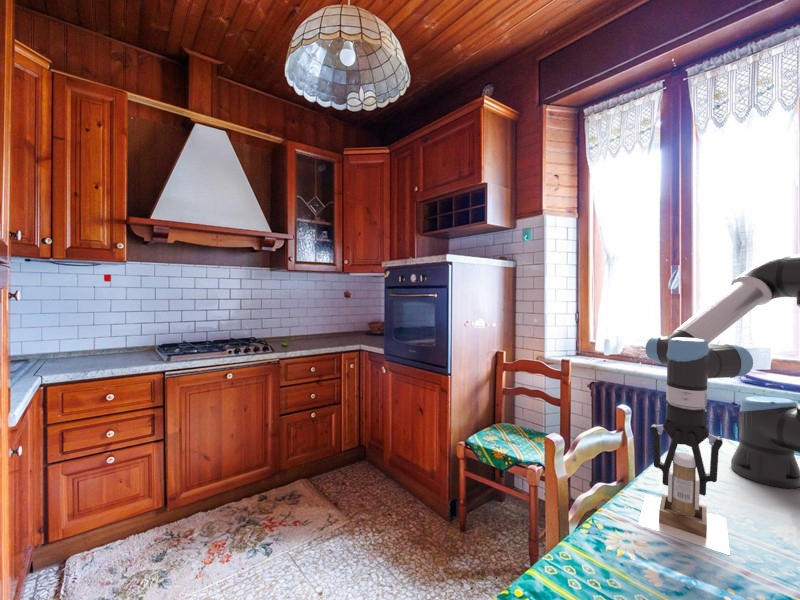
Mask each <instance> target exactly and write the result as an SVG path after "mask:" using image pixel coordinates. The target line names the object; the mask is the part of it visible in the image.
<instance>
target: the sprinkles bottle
mask: <svg viewBox="0 0 800 600" xmlns="http://www.w3.org/2000/svg"><path fill="white" fill-rule="evenodd" d="M672 471H673V480H672V506H671V507H672V509H673V510H674V511H675V512H676V513H678V514H680V515H683V516H688V517H691V516H694V515H695V480H696V477H697V476H696V472H697V467H696V463H695V459H694V455H692V454H690V453H687V452H682V451H675V454H674V457H673V460H672Z"/></svg>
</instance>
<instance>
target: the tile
mask: <svg viewBox="0 0 800 600" xmlns="http://www.w3.org/2000/svg"><path fill="white" fill-rule="evenodd" d="M661 498H662V497H661ZM661 498H660V497H657V496H653V495H650V494H645V497H644V500H643V505H642V508H641V513H640V515H639V519H638V524H637V525H638V526H641V527H645V528H648V529H650V530H653V531H657V532H660V533H663V534H665V535H668V536H672V537H674V538H677V539H679V540H682V541H686V542H689V543H691V544H695V545H698V546H700V547H704V548H706V549H709V550H712V551H715V552H718V553H721V554H724V555H727V556H731V553H730V544H729V532H728V525H727V517H725V516H722V515H719V514H715V513H711V512H708V511H707V536H706V538H704V537H701V536H698V535H695V534H692V533H689V532H686V531H683V530H680V529H677V528H674V527H671V526H668V525H665V524H661V523H659V509H660V503H661ZM666 511H669V512H672V513H676V512H675V511H673V510H669V509H666ZM676 514H678V513H676ZM679 515H680V514H679ZM682 516H683V515H682ZM685 517H688V516H685ZM689 518H692V519H695V520H698V521H702V519H699V518H696V517H692V516H691V517H689Z"/></svg>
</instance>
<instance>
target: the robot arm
mask: <svg viewBox="0 0 800 600" xmlns="http://www.w3.org/2000/svg"><path fill="white" fill-rule="evenodd" d="M777 298H796V306H797V307H799V308H800V253H799V254H785V255H784V254H783V255H779V256H776V257H773V258H770V259H767V260H765V261H762V262H759V263H758V264H756V265H754V266H753V267H751V268H749V269H747V270H745V271H743V272H742V273H741V274H740V275H738V276H737V277H736V278H734V279H733V280H732V281H731V284H730V287H729V288H728V289H726V290H725V291H724V292H723V293H722V294H721V293H720V294H719V295H718V296H717V297H716V298H715V299H713V300H712V301H711V302H709V303H708V304H707V305H706V306H704V307H703V308H701V310H699V311H698V312H697V313H695V314H694V315H693V316H691V317H690V318H689V319H687V320H686V321H685V322H684V323H682V324H681V325H680V326H678V327H677V328H676V329H675V330H673V331H672V332H671V333H669V334H668V335H666V336H664V335H659V336H657V335H655V336H653V337H651V338H649V340H647V342H646V344H645V354H646V356H647V358H648V359H649V360H650V361H652V362H653V363H656V364H661V365H663V366H666V398H665V399H666V401H667V403H666V404H665V420H664V421H663V423H662V424H656V423H652V424H651V426H650V431H651V433H652V436H653V467H654V468H656V469H659V470H660V471H662V482H661V483H662V484H663V486H667V487H668V488H667V496H668V501H669V502H672V480H673V469H672V470H671V469H670V468H671V466H672V464H673V461H672V460H673V457H674V454H675V452H677V451H676V450H677V448H678V445H685V446H687V447H691V451H692V454H693V456H694V459H695V463H696V472H697V475H698V476H696V479H695V509H697V510H699V505H700V496H703V497H705V496H706V495H707V483H709V482H712V483H717V481H718V469H719V468H718V467H719V466H718V465H719V451H720V449H721V447H722V445H723V438H722V437H721V436H716V435H714V434H712V433H711V432H709V429H708V428H707V412H708V411H707V409H706V407H707V406H708V379H723V378H724V379H726V378H730V379H731V378H735V377H741V376H745V375H746V376H747V374H749V373H750V372H751V371H752V369H753V367H754V358H753V355H752V354H751V353H750V351H749V350H748V349H746V348H744V347H743V346H741V345H736V344H734V345H733V344H713V343H711V342H713V341H714V340H715V339H716V338H717V337H719V336H720V335H721V334H723V333H724V332H725V331H726V330H728V329H729V328H731V326H733V325H734V324H735V323H737V322H738V321H740V319H741V318H743V317H744V316H745V315H747V314H748V313H749V312H750V311H752V310H753V309H755V307H757V306H763V305H766V304H768V303H769V302H770V301H771V300H774V299H777ZM740 403H741V404H740V408H739V412H740V413H739V444H738V446H737V447H736V449H735V451H734V453H733V455H732V458H731V460H730V468H731V469H732V471H733V472H735V473H736V474H737V475H739V476H741V477H743V478H746V479H748V480H751V481H753V482H756V483H759V484H762V485H766V486H771V487H774V488H776V487H777V488H784V489H800V466H799V464H798V462H797V459H796V457H795V452H796V453H800V403H798V404H797V401H795V400H792V399H790V398H785V397H784V398H783V397H774V396H760V395H759V396H747V397H744V398H742V399H741V402H740ZM663 431H665V432H666V434H667V435H668V437H669V438H670V439H671V441H670V443H669V447H668V450H667V453H666V457H665V461H664V462H662V461H661V460H662V459H661V452H662V450H661V435H663ZM706 439H708V443H709V445H710V460H709V461H710V462H709V463H710V464H709V466H710V467H709V473H706V469H705V466H704V461H703V458H702V454H701V449H700V444H701V443H703V441H705V440H706Z"/></svg>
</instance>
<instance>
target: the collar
mask: <svg viewBox="0 0 800 600" xmlns="http://www.w3.org/2000/svg"><path fill="white" fill-rule="evenodd" d="M671 506H672V502H669V501H668V494H664V493H662V495H661V503H660V509H659V523H661V524H665V525H668V526H671V527H674V528H677V529H680V530H683V531H686V532H689V533H692V534H695V535H698V536H701V537H704V538H706V536H707V512H708V511H707V509H708V508H707V506H705V505H701V504H699V510H697V509H695V515H694V516H692V517H696V518H699V519H702V521H698V520H695V519H692V518H689V517H685V516H682V515H679V514H676V513H672V512H669V511H666V509H669V510H673V509H672V507H671ZM673 511H674V510H673Z"/></svg>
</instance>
